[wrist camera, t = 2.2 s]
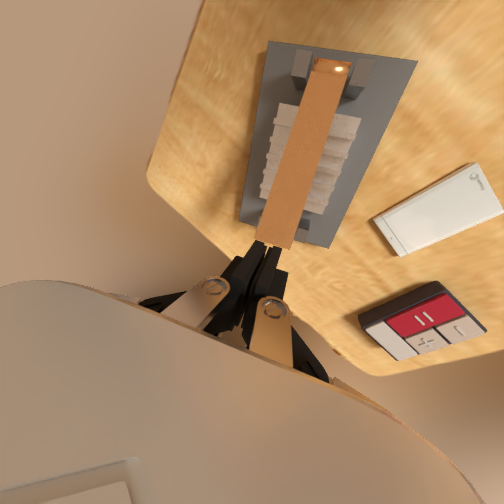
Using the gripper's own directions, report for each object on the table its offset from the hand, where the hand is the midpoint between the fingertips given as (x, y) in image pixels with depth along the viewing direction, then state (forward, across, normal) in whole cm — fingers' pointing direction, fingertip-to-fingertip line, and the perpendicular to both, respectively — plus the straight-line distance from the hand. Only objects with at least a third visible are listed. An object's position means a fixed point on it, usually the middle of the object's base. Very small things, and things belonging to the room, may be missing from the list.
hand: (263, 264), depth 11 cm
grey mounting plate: (+24, 0, -5) cm, 24 cm away
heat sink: (+22, 0, -5) cm, 22 cm away
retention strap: (+13, 0, -6) cm, 14 cm away
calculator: (+25, -28, +17) cm, 41 cm away
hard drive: (+25, -20, -2) cm, 32 cm away
